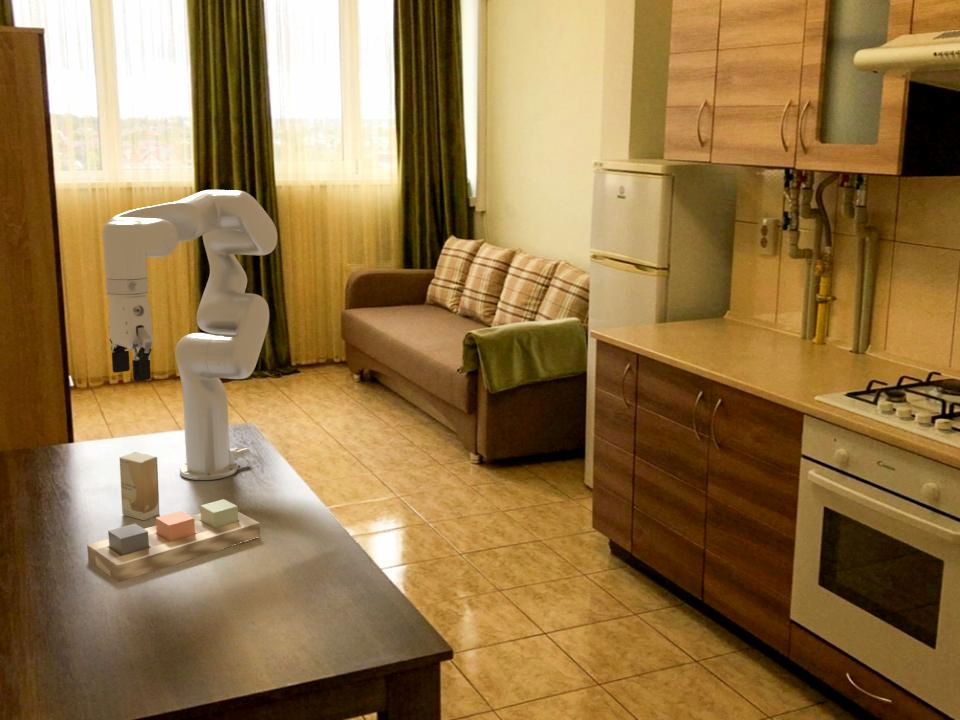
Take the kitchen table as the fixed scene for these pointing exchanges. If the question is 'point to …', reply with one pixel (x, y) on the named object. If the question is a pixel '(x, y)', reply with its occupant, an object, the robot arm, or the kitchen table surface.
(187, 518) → the terracotta key
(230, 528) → the board
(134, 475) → the skincare box
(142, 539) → the charcoal key
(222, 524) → the sage key
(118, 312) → the robot arm
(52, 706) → the kitchen table surface
